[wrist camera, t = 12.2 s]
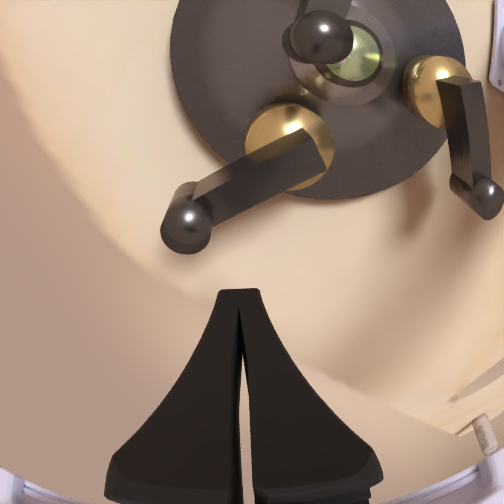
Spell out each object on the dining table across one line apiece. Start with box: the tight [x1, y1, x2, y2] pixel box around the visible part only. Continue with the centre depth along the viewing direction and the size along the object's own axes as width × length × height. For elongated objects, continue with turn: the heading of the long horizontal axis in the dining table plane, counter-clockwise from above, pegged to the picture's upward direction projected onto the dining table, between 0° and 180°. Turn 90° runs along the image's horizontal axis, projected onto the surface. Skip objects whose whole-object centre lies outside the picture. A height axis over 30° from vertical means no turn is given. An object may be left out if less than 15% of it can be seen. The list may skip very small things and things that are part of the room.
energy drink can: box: [472, 413, 498, 456], centre depth 59 cm, size 6×6×15 cm
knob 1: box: [160, 102, 334, 254], centre depth 14 cm, size 9×4×5 cm, turn 118°
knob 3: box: [401, 55, 504, 220], centre depth 13 cm, size 9×4×5 cm, turn 25°
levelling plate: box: [170, 0, 466, 200], centre depth 12 cm, size 18×18×3 cm
